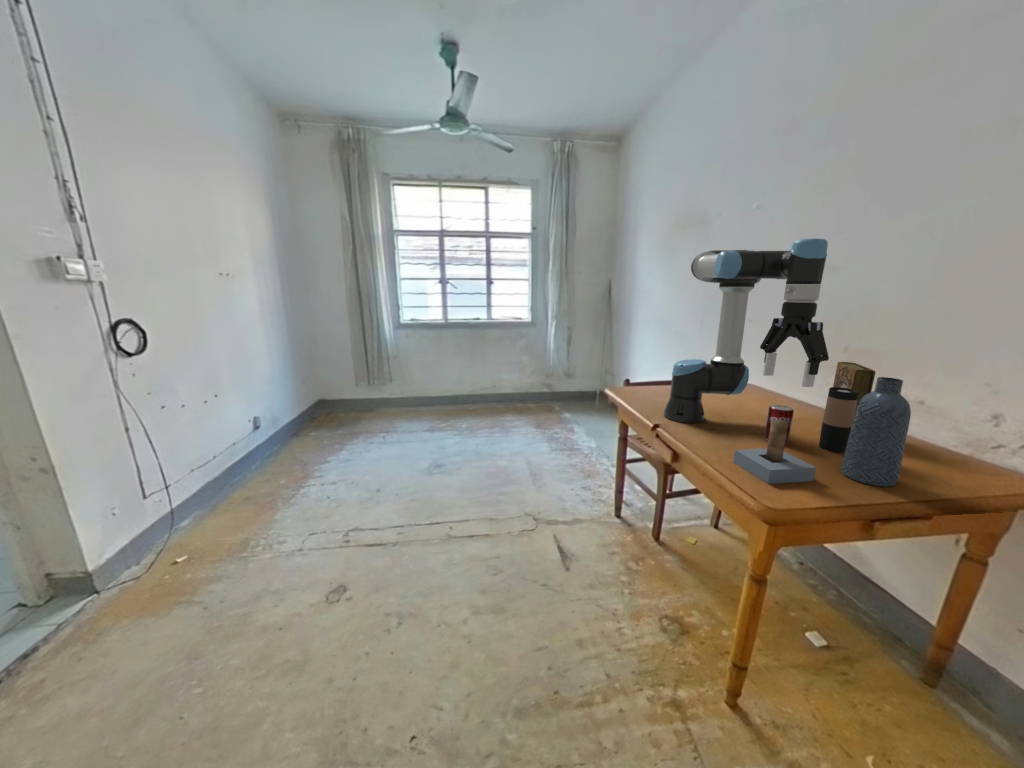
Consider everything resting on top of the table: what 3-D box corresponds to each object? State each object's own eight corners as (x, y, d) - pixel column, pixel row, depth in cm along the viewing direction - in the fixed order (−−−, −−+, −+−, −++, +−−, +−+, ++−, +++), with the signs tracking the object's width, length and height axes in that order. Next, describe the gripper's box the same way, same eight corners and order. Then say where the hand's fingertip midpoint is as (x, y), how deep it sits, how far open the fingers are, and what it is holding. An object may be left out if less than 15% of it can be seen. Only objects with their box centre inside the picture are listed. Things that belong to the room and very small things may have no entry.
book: (823, 425, 159) (836, 361, 153) (840, 426, 157) (854, 362, 151) (841, 439, 144) (856, 369, 138) (860, 441, 142) (876, 370, 136)
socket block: (733, 462, 124) (735, 449, 123) (775, 460, 126) (777, 447, 125) (767, 483, 110) (770, 470, 110) (813, 480, 112) (816, 467, 112)
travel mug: (816, 448, 135) (827, 389, 131) (819, 442, 141) (830, 385, 136) (845, 455, 130) (858, 394, 126) (847, 448, 136) (860, 389, 131)
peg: (760, 468, 120) (768, 419, 116) (772, 467, 120) (780, 419, 117) (770, 474, 116) (779, 424, 113) (783, 473, 117) (792, 423, 113)
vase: (908, 484, 111) (934, 383, 104) (876, 490, 108) (901, 385, 101) (859, 466, 122) (880, 373, 116) (829, 470, 119) (849, 375, 112)
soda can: (792, 445, 138) (798, 411, 135) (768, 443, 139) (774, 409, 137) (782, 437, 145) (788, 405, 142) (760, 436, 146) (765, 403, 144)
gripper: (753, 299, 119) (743, 371, 124) (829, 303, 95) (813, 392, 100) (776, 299, 120) (765, 371, 125) (858, 303, 96) (840, 391, 101)
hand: (786, 380), depth 112 cm, fingers open, 13 cm apart
